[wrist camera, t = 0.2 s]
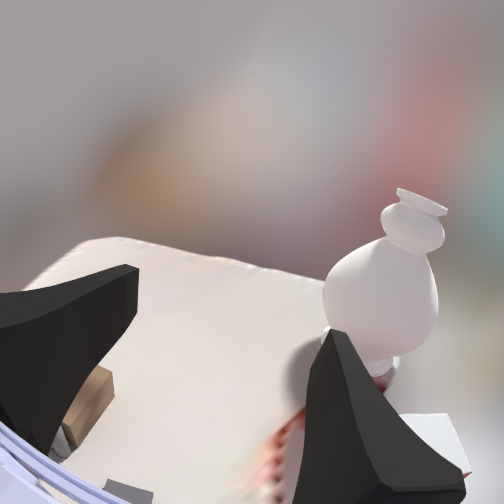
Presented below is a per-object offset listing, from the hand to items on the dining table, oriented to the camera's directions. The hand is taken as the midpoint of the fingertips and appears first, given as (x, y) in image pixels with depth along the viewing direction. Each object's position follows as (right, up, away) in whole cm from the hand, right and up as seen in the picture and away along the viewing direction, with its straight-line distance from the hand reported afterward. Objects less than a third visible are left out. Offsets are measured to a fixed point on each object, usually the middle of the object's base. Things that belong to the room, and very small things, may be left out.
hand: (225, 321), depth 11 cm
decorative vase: (+17, -13, +35) cm, 41 cm away
